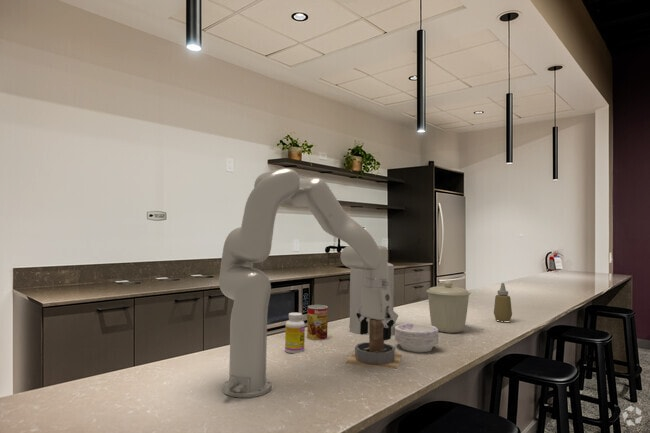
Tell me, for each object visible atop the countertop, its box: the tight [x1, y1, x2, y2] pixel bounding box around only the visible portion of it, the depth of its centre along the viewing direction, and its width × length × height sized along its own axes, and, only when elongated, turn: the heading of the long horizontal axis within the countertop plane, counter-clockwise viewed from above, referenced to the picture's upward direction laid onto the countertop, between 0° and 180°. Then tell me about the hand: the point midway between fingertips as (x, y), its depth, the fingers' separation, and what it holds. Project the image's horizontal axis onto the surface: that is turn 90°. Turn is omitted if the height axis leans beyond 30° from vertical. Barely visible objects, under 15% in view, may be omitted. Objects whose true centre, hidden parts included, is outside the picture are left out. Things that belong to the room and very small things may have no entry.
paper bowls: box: [394, 323, 439, 353], centre depth 149 cm, size 15×15×8 cm
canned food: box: [306, 304, 329, 341], centre depth 164 cm, size 8×8×12 cm
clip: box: [363, 347, 387, 353], centre depth 136 cm, size 5×6×3 cm
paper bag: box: [349, 262, 395, 337], centre depth 174 cm, size 19×15×28 cm
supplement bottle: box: [284, 312, 306, 354], centre depth 145 cm, size 7×7×13 cm
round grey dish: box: [354, 341, 396, 365], centre depth 136 cm, size 13×13×4 cm
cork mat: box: [345, 350, 403, 370], centre depth 136 cm, size 16×16×1 cm
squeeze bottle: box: [493, 282, 513, 322], centre depth 198 cm, size 8×8×18 cm
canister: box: [425, 280, 471, 334], centre depth 179 cm, size 18×18×21 cm
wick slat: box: [368, 319, 385, 352], centre depth 137 cm, size 2×4×12 cm, turn 134°
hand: (375, 336), depth 136 cm, fingers open, 9 cm apart
